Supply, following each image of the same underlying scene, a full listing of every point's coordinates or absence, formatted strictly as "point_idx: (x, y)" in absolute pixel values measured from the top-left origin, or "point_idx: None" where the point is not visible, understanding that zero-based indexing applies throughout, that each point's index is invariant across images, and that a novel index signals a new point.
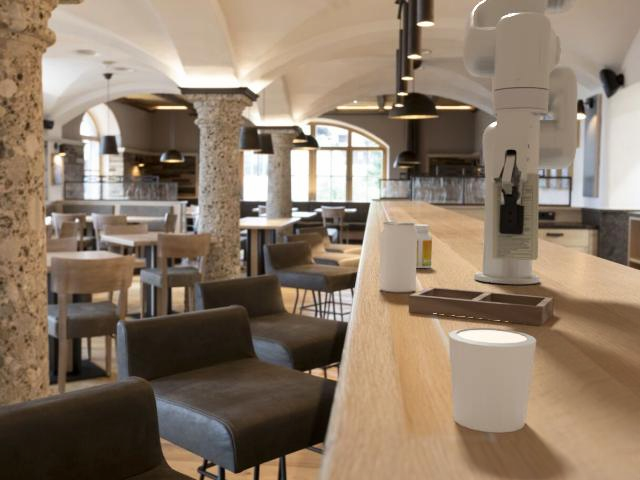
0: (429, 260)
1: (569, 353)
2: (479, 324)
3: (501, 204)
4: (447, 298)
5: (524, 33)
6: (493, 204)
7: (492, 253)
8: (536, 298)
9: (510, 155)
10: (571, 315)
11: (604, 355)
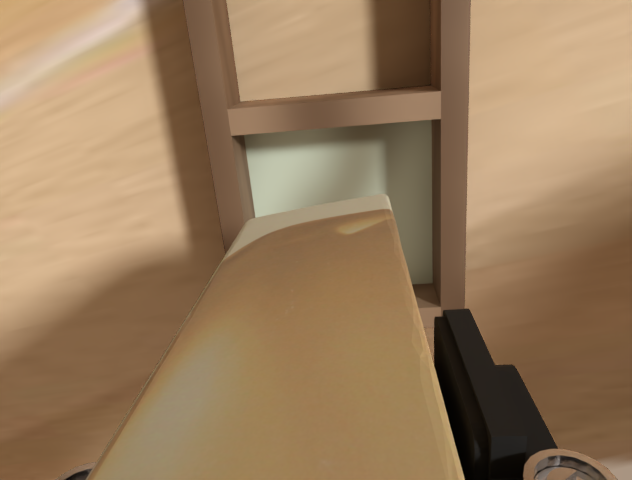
0: None
1: (13, 407)
2: (154, 164)
3: (74, 472)
4: (197, 16)
5: None
6: (143, 389)
7: (243, 227)
8: (440, 277)
9: None
10: None
11: (49, 456)
